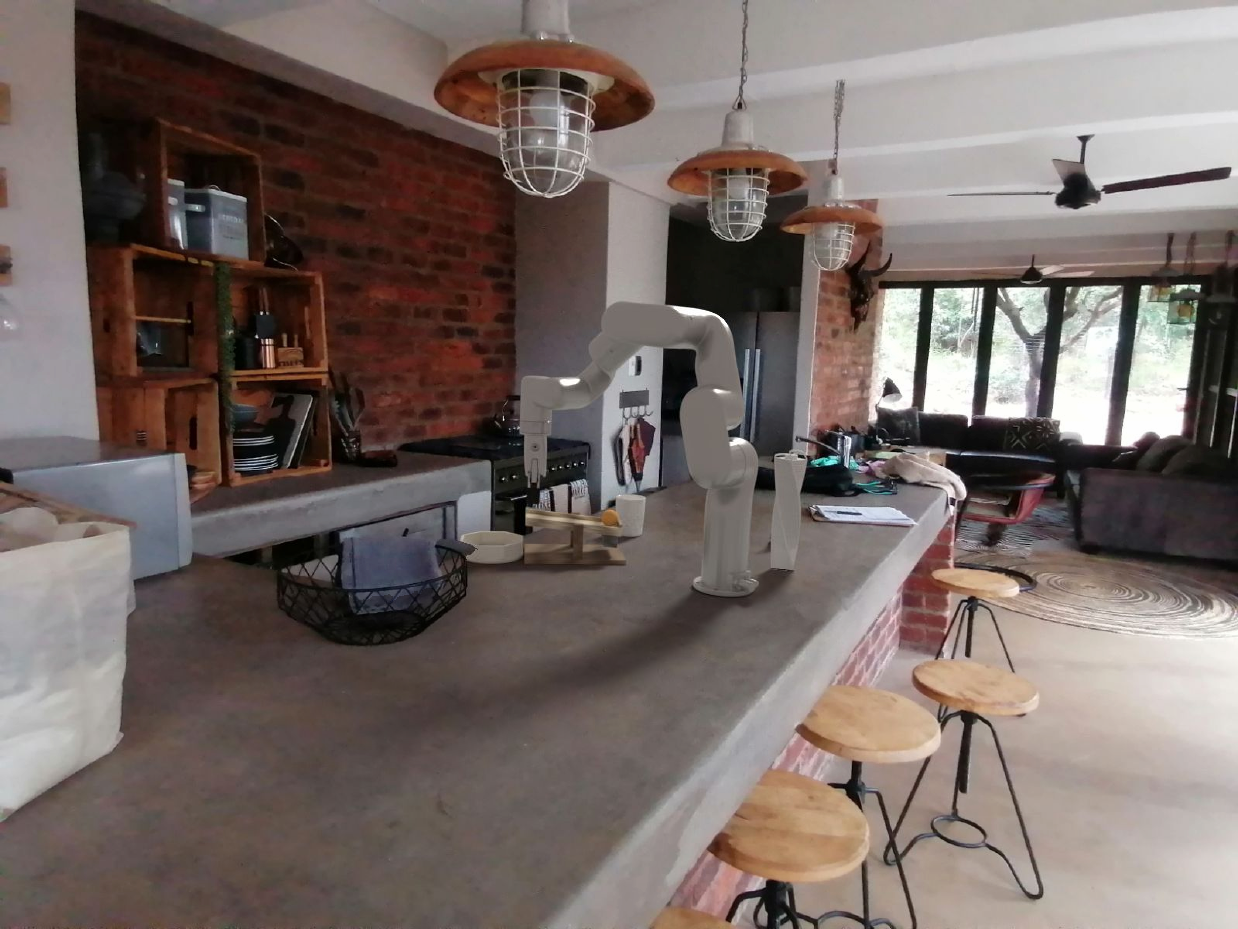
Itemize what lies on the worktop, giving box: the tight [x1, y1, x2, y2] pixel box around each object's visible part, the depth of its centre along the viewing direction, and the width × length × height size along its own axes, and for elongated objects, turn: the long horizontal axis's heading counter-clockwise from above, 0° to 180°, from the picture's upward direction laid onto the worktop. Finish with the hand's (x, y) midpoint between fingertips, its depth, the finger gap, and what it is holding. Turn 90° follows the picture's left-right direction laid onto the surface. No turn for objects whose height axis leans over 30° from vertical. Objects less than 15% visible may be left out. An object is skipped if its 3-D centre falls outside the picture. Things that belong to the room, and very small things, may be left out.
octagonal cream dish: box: [459, 530, 524, 565], centre depth 183 cm, size 14×14×4 cm
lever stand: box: [523, 511, 627, 566], centre depth 185 cm, size 23×14×9 cm, turn 97°
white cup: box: [615, 493, 647, 538], centre depth 210 cm, size 8×8×10 cm
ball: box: [601, 509, 618, 527], centre depth 186 cm, size 4×4×4 cm
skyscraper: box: [770, 448, 808, 571], centre depth 182 cm, size 8×8×28 cm
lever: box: [524, 506, 623, 548], centre depth 188 cm, size 22×16×6 cm
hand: (532, 503), depth 191 cm, fingers closed
